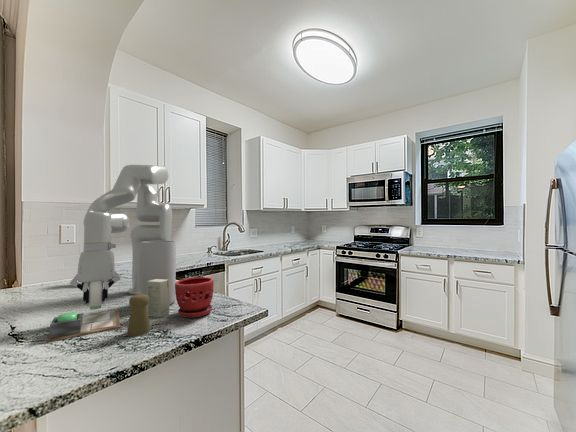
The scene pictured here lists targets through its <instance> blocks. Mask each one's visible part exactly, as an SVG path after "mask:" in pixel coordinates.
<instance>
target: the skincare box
mask: <svg viewBox="0 0 576 432" xmlns="http://www.w3.org/2000/svg"><path fill="white" fill-rule="evenodd" d="M147 295H148V297H149V303H148V304H147V310H148V317H157V318H162V317H163V316H164V317H165V316H167V315H169V314H170V305H169V280H166V279H154V280H150V281H147Z"/></svg>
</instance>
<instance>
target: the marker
mask: <svg viewBox="0 0 576 432" xmlns="http://www.w3.org/2000/svg"><path fill="white" fill-rule="evenodd" d="M103 289H104V283H103V281H98V280H94V281H92V282H89V286H88V290H89V300H88V304H87V306H88V307H89V310H91V311H94V310H99V309H101V308H102V305H103V304H104V302H102V300H103Z"/></svg>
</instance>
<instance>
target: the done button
mask: <svg viewBox="0 0 576 432" xmlns="http://www.w3.org/2000/svg"><path fill="white" fill-rule="evenodd" d="M77 314H78V312H67V313H62V314H60V315H58V316H57V317H58V319H57V323H59V322H65V321H71V320H77Z"/></svg>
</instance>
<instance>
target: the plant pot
mask: <svg viewBox="0 0 576 432" xmlns="http://www.w3.org/2000/svg"><path fill="white" fill-rule="evenodd" d="M213 297H214V278H211V277H204V276H203V277H199V276H198V277H190V278H184V279H180V280H178V281H176V282H175V301H176V303H177V305H178V307H179V309H178V310H177V313H178V314H179V315H180V316H181V317H183V318H186V319H187V318H199V317H203V316H205V315H207V314H209V313H210V312H211V311H212V310H213V305H212V304H211V303H212V301H213Z"/></svg>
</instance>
